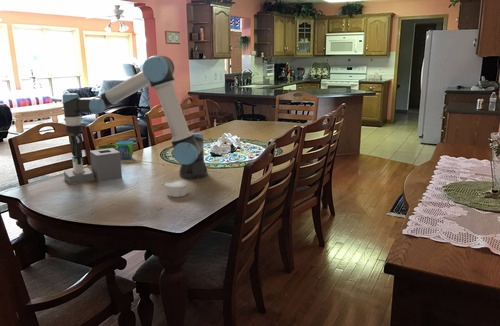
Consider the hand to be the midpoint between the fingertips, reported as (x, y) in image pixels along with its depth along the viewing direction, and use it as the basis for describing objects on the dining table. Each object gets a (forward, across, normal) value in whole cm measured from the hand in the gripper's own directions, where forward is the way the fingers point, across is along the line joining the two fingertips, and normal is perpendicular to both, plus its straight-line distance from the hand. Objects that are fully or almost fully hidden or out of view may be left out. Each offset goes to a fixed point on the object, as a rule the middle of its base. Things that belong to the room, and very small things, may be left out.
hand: (78, 169), depth 210 cm
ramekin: (+6, +49, +32) cm, 59 cm away
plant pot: (+6, -19, +21) cm, 29 cm away
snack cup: (+6, -30, +35) cm, 46 cm away
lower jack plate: (+6, 0, 0) cm, 6 cm away
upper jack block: (+6, +4, +13) cm, 15 cm away
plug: (+5, 0, 0) cm, 5 cm away
